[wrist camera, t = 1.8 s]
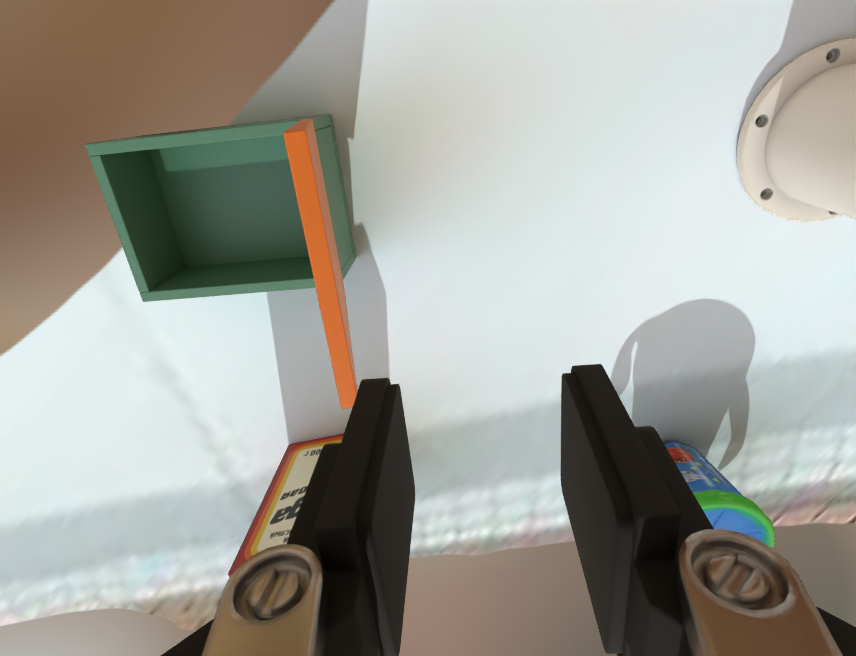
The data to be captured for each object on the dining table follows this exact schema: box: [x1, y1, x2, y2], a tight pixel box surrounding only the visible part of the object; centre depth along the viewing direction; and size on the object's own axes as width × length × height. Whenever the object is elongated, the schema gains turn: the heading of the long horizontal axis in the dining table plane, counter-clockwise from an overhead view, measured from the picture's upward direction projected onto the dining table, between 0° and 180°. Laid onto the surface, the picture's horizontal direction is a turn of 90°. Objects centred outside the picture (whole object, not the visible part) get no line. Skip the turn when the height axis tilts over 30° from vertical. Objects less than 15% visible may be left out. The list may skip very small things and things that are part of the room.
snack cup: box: [664, 441, 775, 548], centre depth 47 cm, size 16×10×10 cm
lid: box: [283, 119, 357, 409], centre depth 27 cm, size 16×12×1 cm
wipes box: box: [85, 114, 356, 302], centre depth 39 cm, size 16×12×7 cm
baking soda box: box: [228, 434, 344, 577], centre depth 46 cm, size 10×6×16 cm
